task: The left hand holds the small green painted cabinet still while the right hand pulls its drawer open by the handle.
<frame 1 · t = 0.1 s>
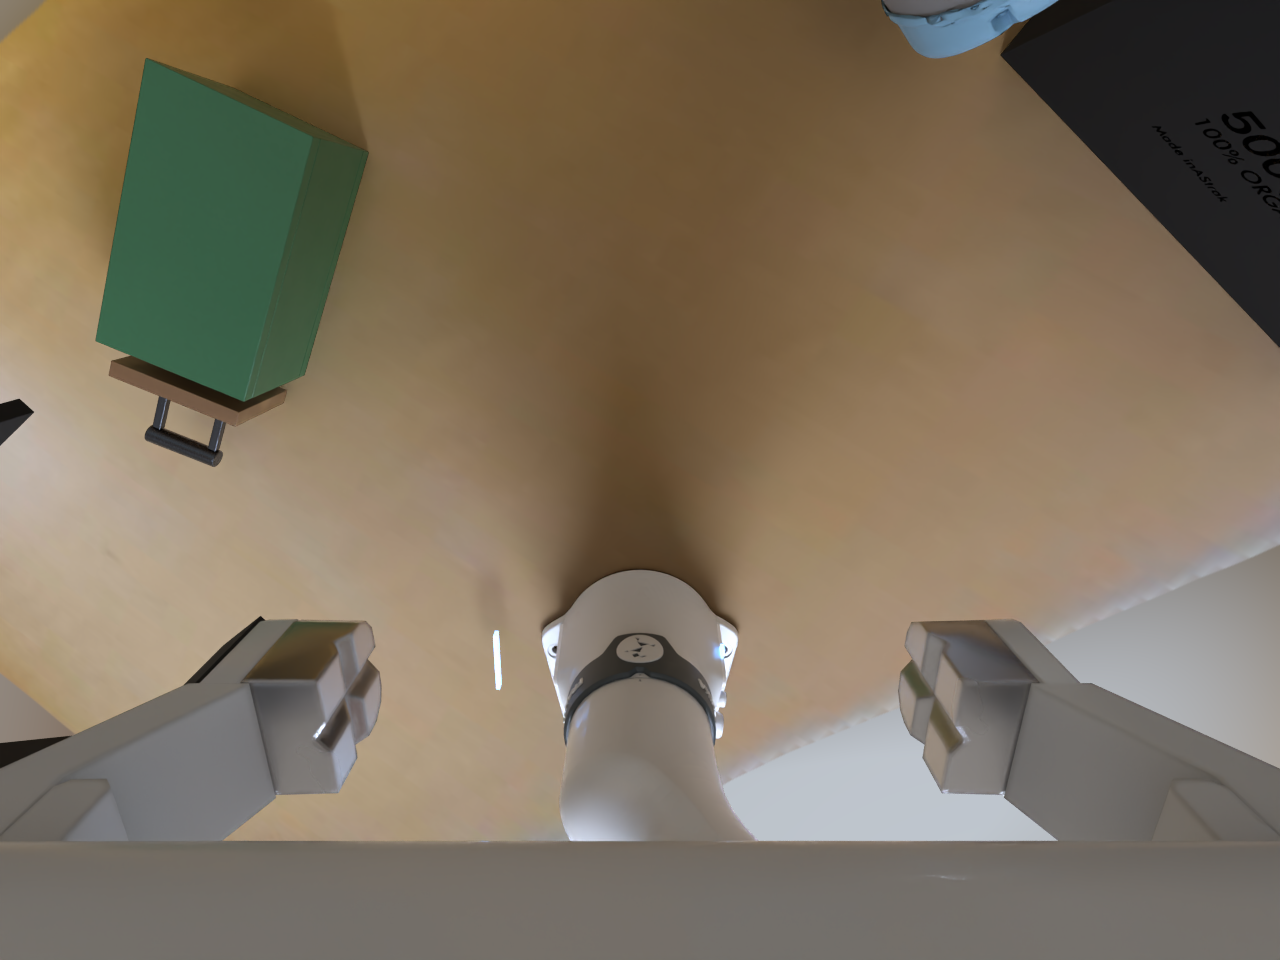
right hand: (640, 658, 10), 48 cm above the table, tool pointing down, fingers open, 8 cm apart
cardboard box: (1275, 111, 50), on the table
drawer: (219, 319, 51), point 5 cm above the table, slide at 1.4 cm
cabinet: (270, 241, 54), on the table
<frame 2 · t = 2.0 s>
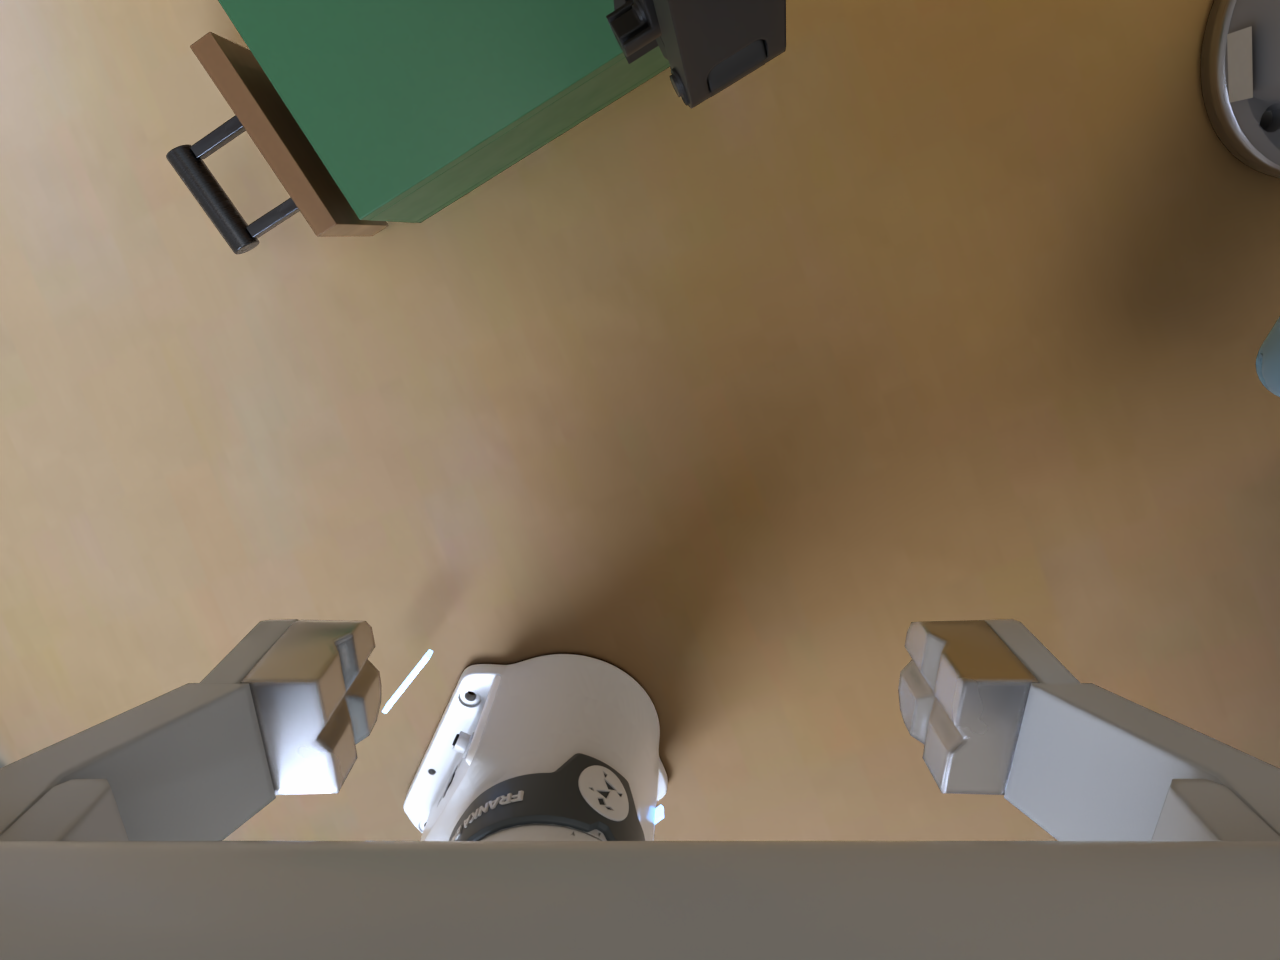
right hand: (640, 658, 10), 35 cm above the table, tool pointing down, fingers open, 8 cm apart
drawer: (386, 91, 34), point 5 cm above the table, slide at 1.4 cm
cabinet: (504, 48, 38), on the table
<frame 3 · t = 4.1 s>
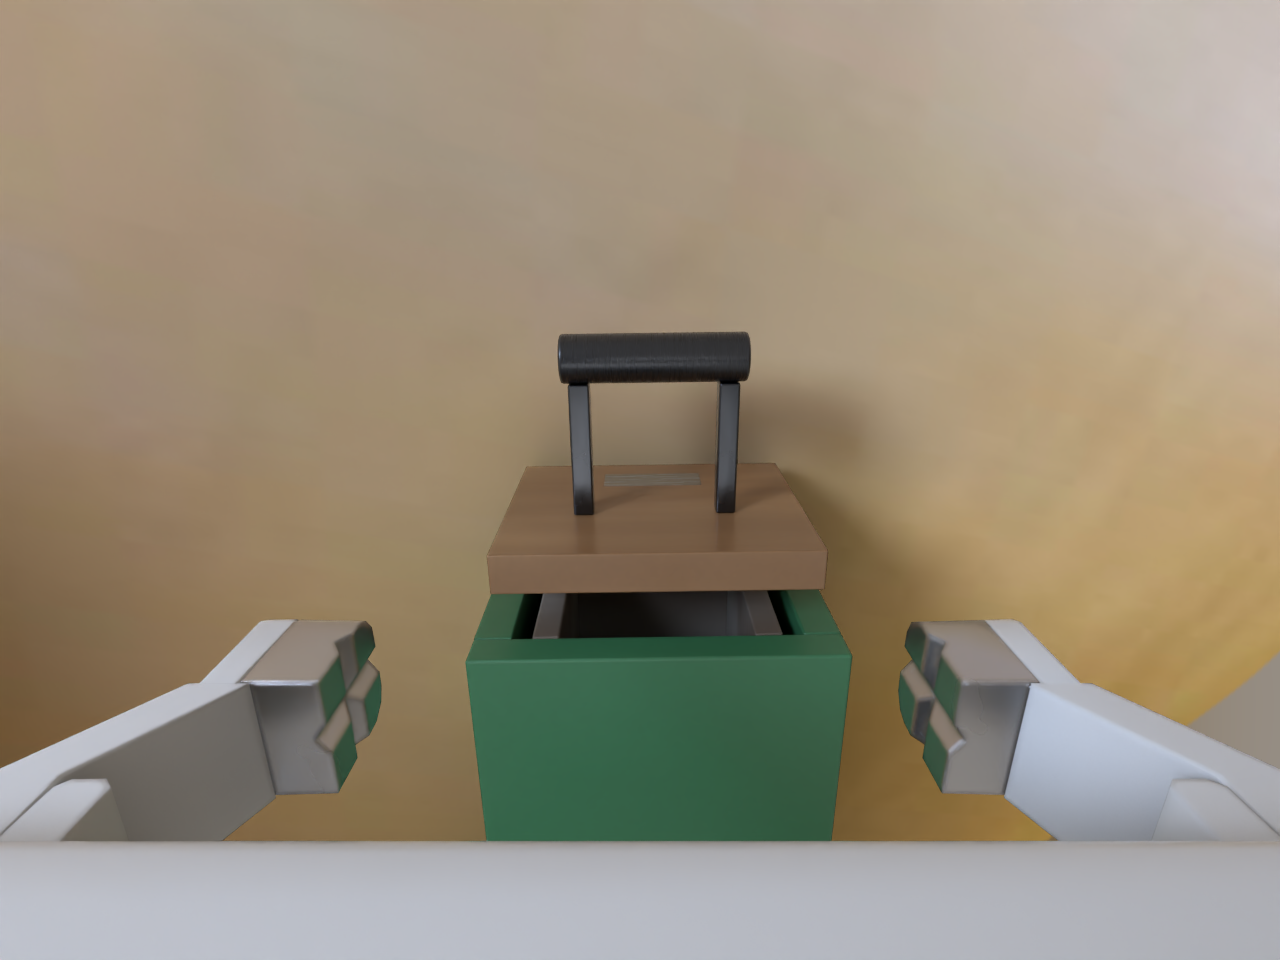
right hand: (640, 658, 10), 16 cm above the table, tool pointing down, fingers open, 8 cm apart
drawer: (654, 660, 24), point 5 cm above the table, slide at 1.4 cm
cabinet: (652, 712, 30), on the table, touching left hand
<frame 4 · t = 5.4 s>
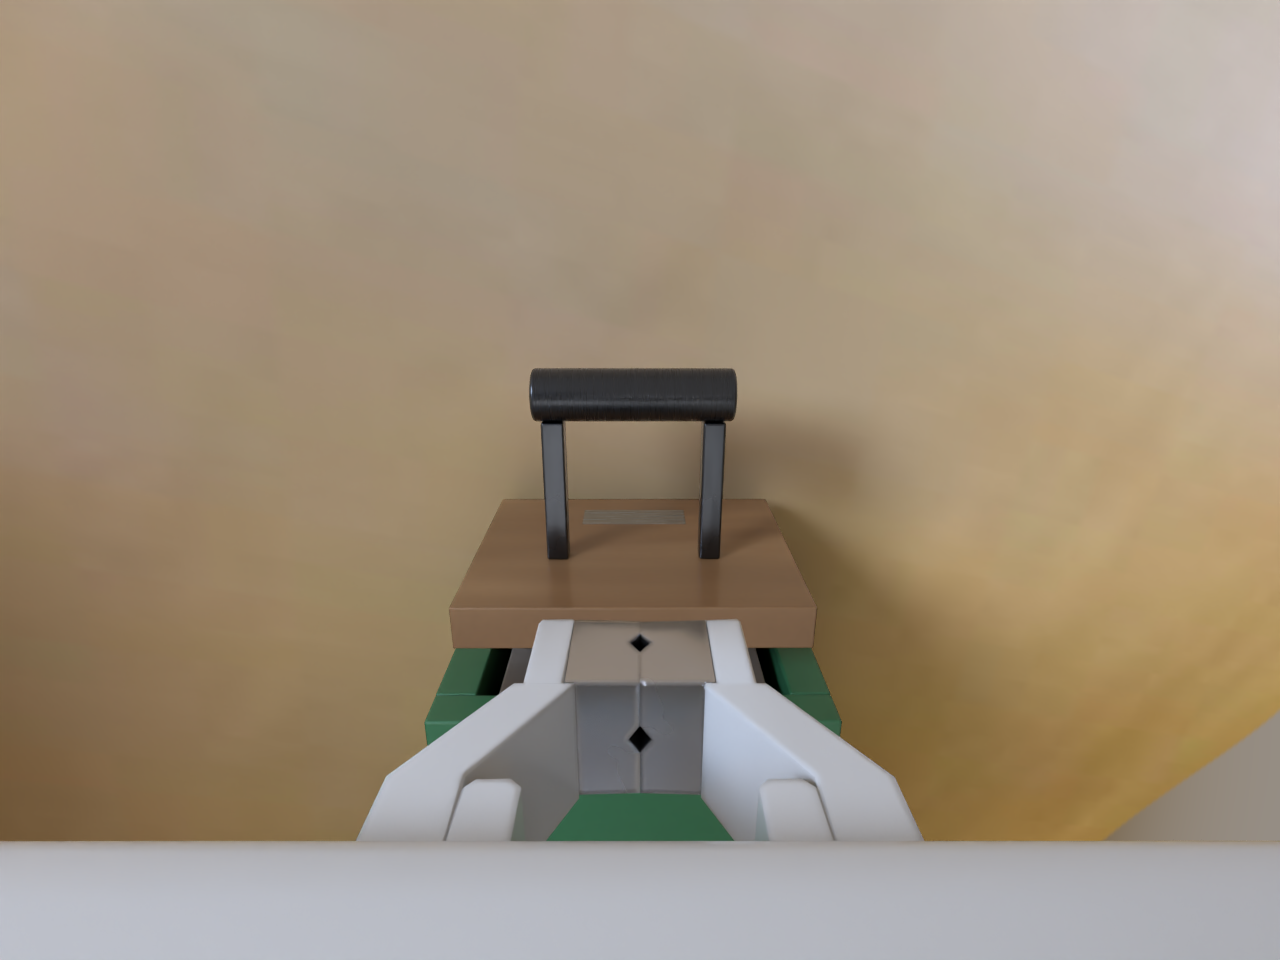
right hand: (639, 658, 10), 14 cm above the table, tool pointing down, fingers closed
drawer: (634, 708, 22), point 5 cm above the table, slide at 1.4 cm
cabinet: (634, 751, 29), on the table, touching left hand
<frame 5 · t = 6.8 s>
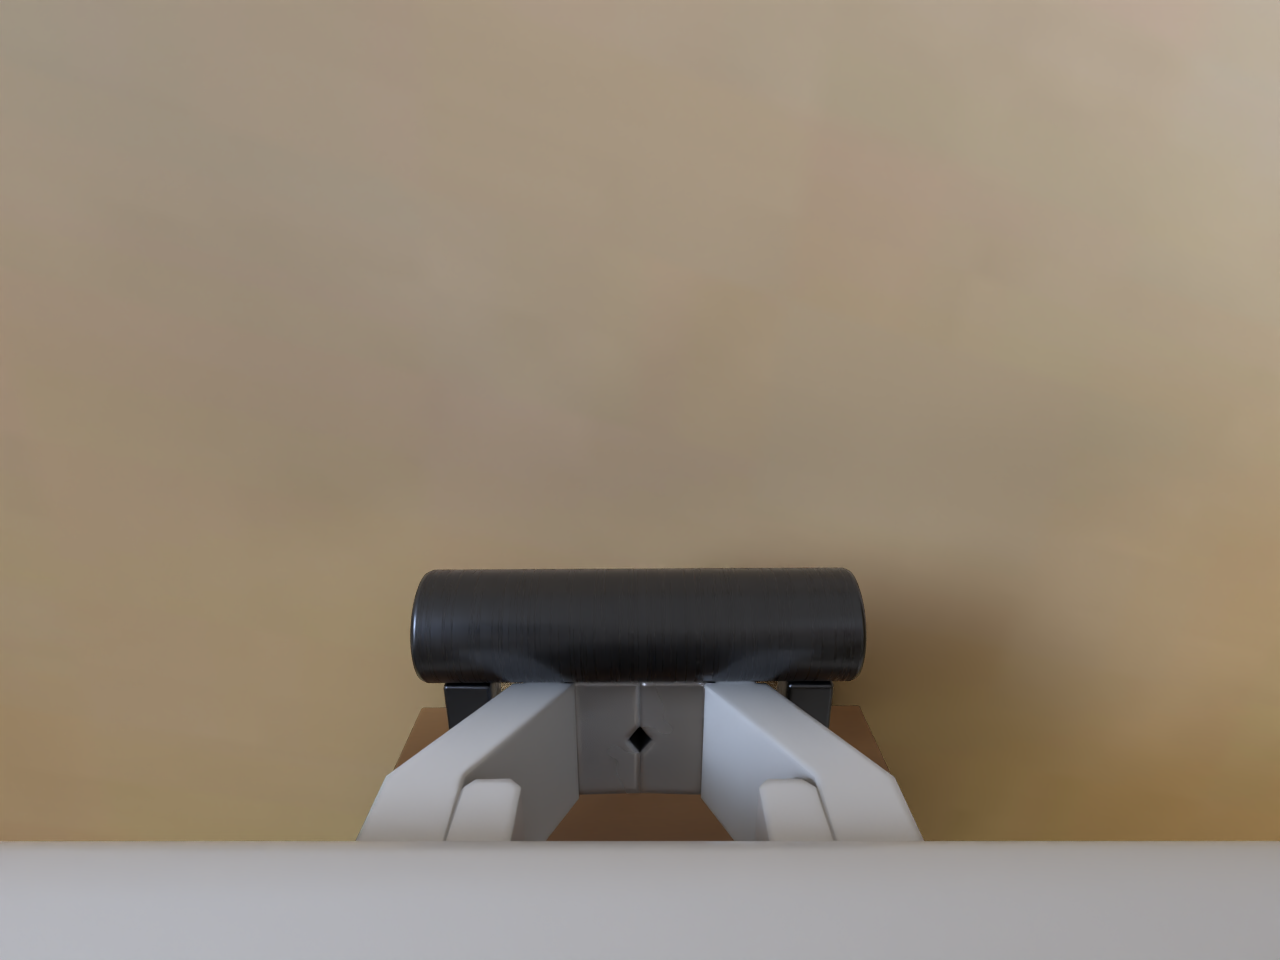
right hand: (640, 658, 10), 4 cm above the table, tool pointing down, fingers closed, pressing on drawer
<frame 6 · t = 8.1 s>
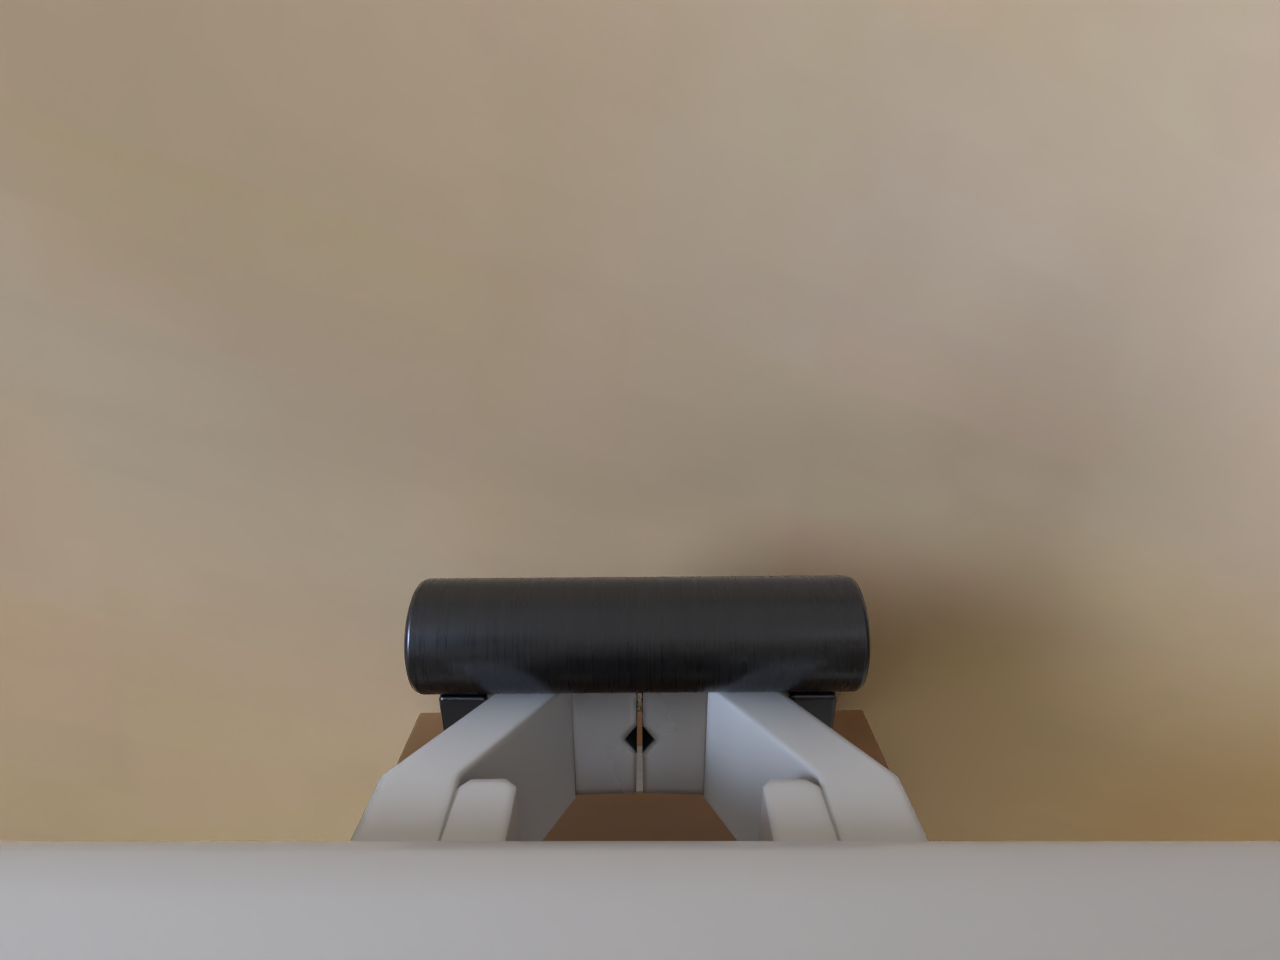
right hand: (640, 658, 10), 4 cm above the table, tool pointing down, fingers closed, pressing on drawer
when the left hand's fingers open (5 cm above the table, at t = 9.9 s): cabinet stays where it is, on the table.
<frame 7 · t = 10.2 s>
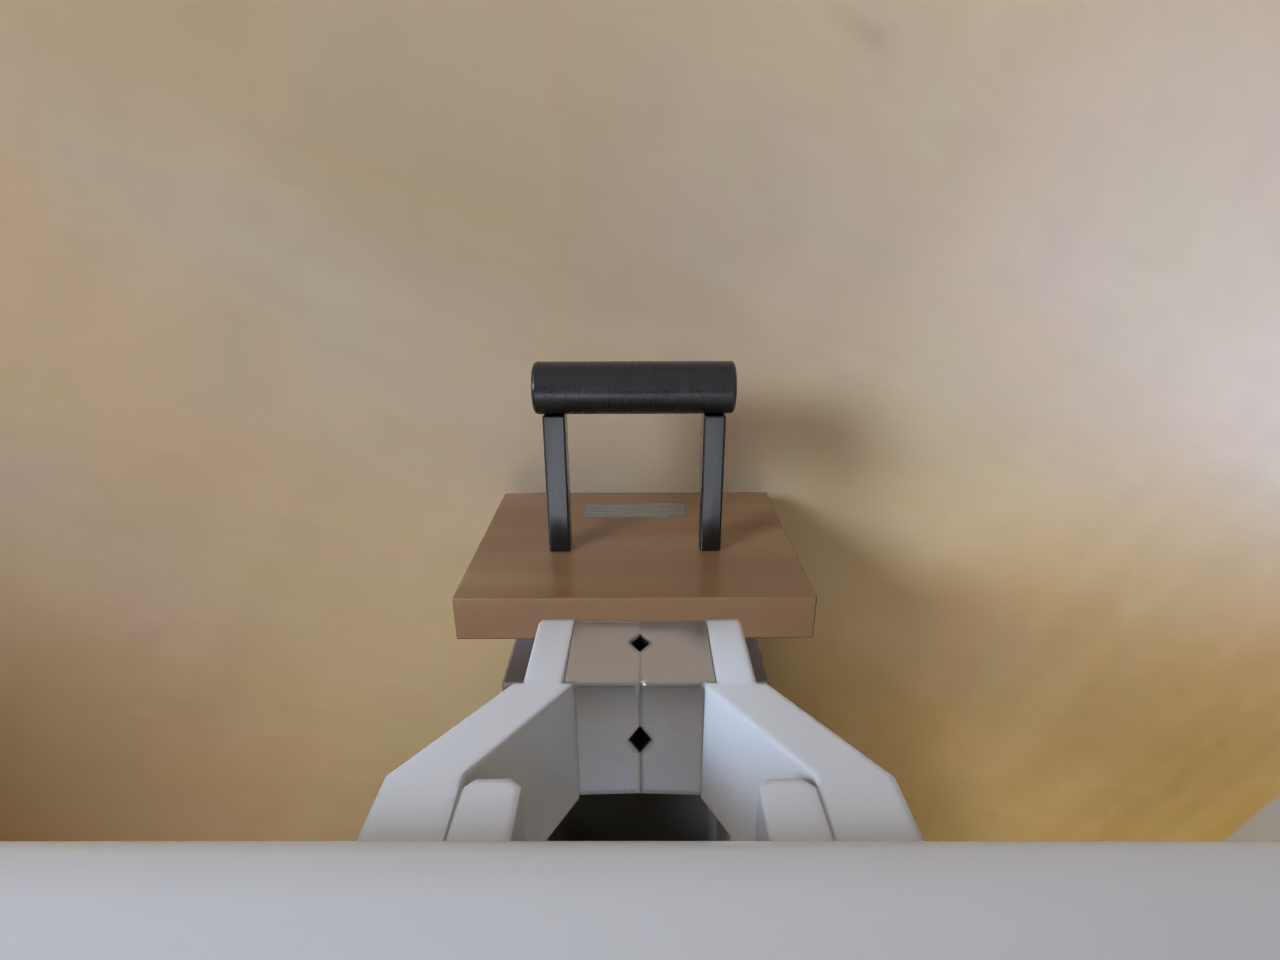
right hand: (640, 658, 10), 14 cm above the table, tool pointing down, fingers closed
drawer: (636, 700, 23), point 5 cm above the table, slide at 8.4 cm
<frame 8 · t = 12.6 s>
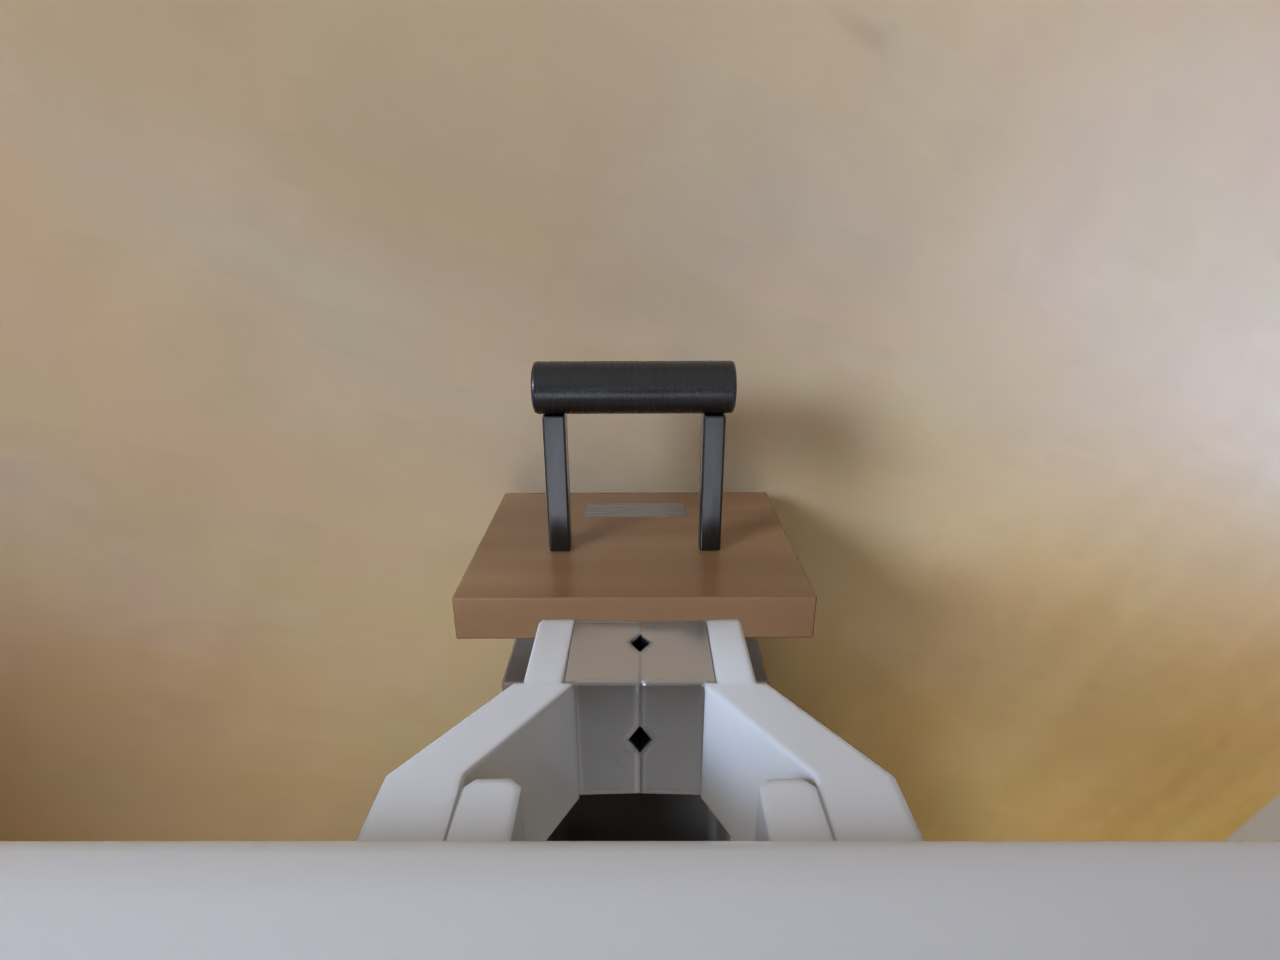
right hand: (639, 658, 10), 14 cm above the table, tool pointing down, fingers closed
drawer: (636, 700, 23), point 5 cm above the table, slide at 8.4 cm
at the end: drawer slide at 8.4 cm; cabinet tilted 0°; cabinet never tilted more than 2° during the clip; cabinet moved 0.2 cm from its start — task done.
